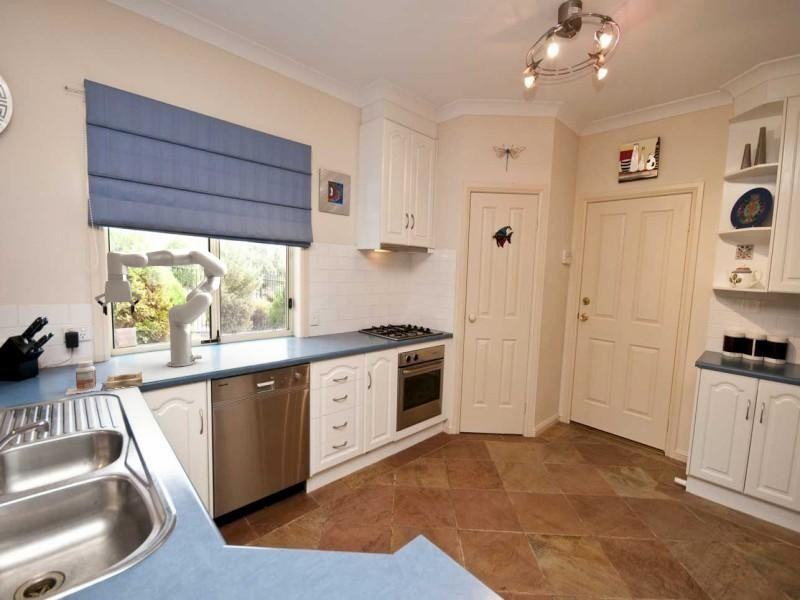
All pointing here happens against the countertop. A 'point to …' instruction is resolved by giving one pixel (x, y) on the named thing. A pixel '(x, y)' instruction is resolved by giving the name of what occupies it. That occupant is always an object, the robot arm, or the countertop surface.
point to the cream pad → (74, 391)
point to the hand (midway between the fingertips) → (119, 314)
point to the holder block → (124, 380)
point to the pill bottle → (85, 375)
